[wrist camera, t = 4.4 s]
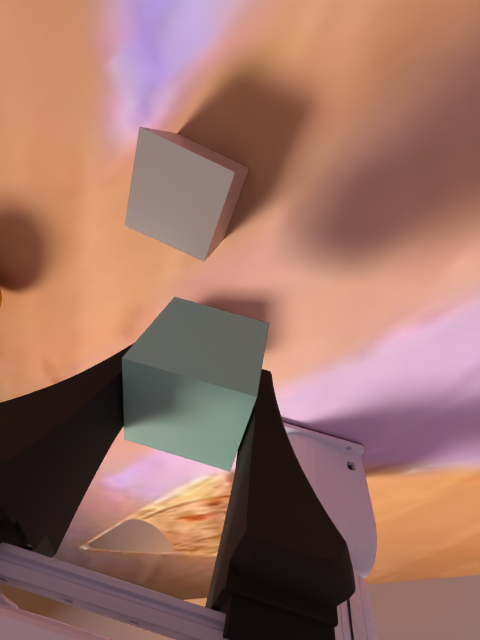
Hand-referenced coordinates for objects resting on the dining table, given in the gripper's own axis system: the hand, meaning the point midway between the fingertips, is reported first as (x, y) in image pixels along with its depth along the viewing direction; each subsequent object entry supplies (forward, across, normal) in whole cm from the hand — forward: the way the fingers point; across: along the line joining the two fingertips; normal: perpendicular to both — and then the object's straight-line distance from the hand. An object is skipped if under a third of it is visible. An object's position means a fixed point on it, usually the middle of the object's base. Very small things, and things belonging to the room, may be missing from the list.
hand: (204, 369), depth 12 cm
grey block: (+9, +4, -6) cm, 11 cm away
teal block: (+2, 0, 0) cm, 2 cm away
